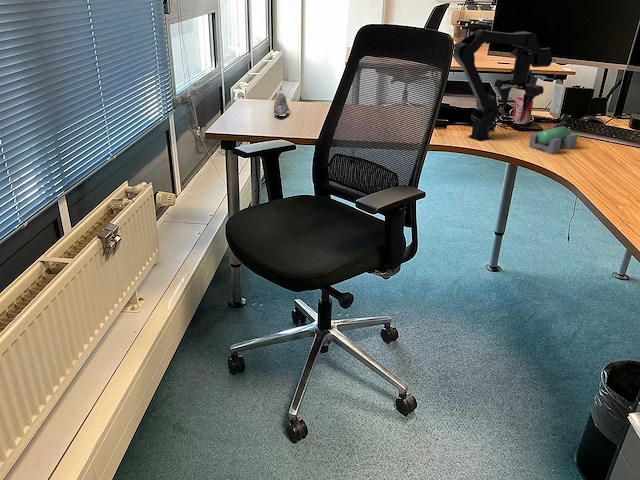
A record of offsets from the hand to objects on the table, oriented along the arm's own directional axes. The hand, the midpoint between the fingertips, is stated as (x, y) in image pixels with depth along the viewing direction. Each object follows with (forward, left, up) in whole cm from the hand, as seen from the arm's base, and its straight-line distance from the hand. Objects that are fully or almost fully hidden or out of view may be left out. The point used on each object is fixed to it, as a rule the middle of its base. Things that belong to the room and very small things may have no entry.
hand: (514, 108), depth 208 cm
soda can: (+18, +9, -11) cm, 23 cm away
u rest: (+2, -18, -11) cm, 21 cm away
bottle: (+4, -18, -9) cm, 20 cm away
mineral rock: (-63, +77, -11) cm, 100 cm away
